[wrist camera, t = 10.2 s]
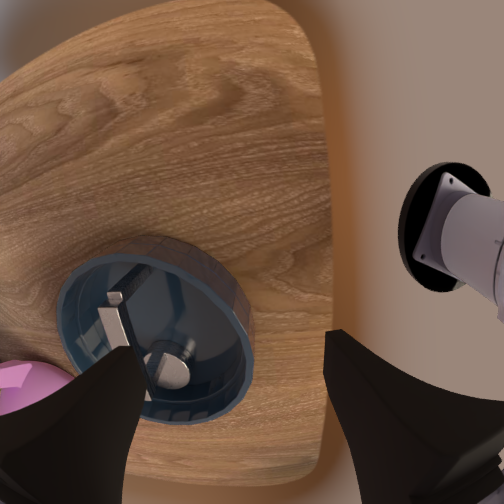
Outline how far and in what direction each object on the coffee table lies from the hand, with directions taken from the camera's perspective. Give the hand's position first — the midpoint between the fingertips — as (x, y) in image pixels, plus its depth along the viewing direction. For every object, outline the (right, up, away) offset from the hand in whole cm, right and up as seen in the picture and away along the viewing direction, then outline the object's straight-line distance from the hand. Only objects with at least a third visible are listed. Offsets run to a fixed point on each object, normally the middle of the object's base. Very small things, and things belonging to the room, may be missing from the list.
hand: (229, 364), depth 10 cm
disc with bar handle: (-6, -2, +10) cm, 12 cm away
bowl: (-6, -1, +11) cm, 13 cm away
